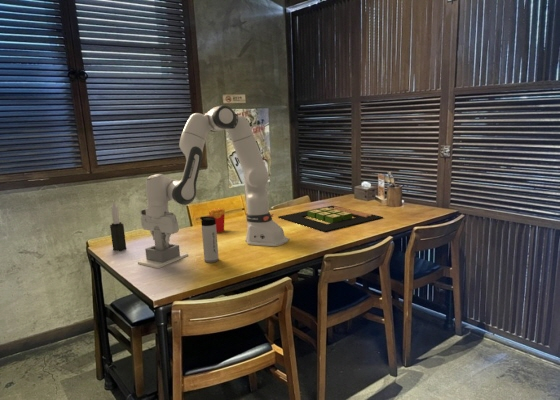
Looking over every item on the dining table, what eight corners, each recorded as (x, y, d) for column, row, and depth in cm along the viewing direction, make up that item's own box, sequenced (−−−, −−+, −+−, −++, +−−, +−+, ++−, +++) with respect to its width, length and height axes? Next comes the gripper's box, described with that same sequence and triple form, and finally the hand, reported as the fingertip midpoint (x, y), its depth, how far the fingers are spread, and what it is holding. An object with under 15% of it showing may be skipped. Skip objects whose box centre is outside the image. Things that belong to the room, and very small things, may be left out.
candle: (118, 251, 198) (112, 201, 193) (112, 250, 200) (105, 200, 195) (127, 248, 202) (121, 199, 197) (120, 247, 204) (114, 198, 200)
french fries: (211, 233, 222) (209, 210, 220) (209, 231, 226) (207, 209, 223) (227, 230, 226) (225, 208, 224) (224, 229, 230) (223, 207, 228)
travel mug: (204, 258, 181) (200, 215, 178) (219, 257, 182) (215, 214, 178) (203, 263, 175) (199, 219, 171) (218, 262, 176) (214, 218, 172)
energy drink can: (162, 254, 186) (159, 223, 183) (172, 256, 184) (169, 224, 181) (153, 259, 181) (150, 226, 178) (164, 260, 178) (160, 227, 176)
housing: (188, 255, 187) (187, 243, 185) (158, 268, 172) (156, 255, 170) (168, 251, 193) (167, 239, 192) (137, 263, 178) (136, 250, 177)
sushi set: (383, 219, 239) (383, 212, 238) (325, 234, 215) (325, 226, 214) (332, 207, 276) (332, 201, 275) (278, 219, 251) (278, 212, 250)
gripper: (180, 211, 175) (183, 241, 178) (148, 207, 186) (151, 236, 189) (169, 214, 170) (172, 245, 173) (137, 210, 181) (140, 240, 183)
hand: (161, 240), depth 181 cm, fingers closed on energy drink can, 6 cm apart
